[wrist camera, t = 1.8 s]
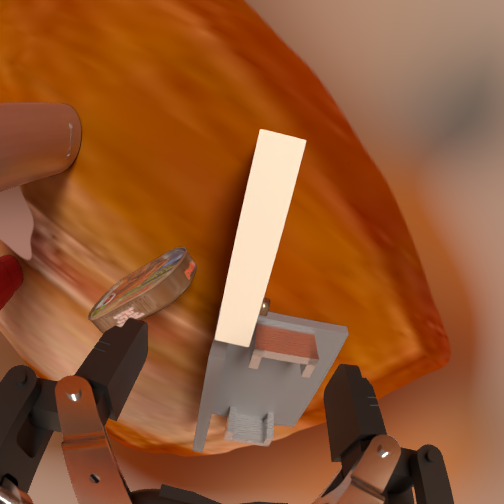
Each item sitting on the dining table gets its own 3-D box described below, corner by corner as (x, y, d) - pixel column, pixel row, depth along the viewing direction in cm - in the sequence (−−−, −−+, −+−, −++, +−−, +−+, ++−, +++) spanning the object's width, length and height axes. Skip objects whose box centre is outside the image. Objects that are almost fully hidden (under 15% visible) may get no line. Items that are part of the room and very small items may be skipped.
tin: (193, 236, 30) (168, 270, 23) (208, 260, 31) (189, 300, 24) (107, 287, 34) (74, 323, 26) (120, 306, 35) (91, 344, 27)
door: (229, 283, 32) (214, 339, 23) (263, 133, 26) (260, 129, 17) (263, 291, 32) (260, 349, 23) (303, 143, 26) (321, 144, 17)
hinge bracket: (201, 404, 42) (190, 449, 33) (221, 301, 33) (206, 355, 24) (293, 419, 42) (294, 465, 33) (346, 326, 34) (363, 380, 25)
